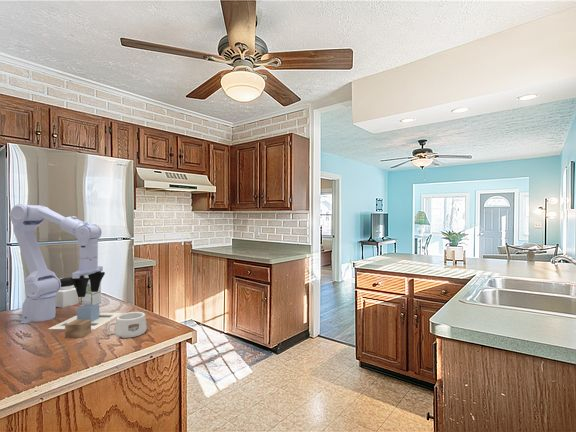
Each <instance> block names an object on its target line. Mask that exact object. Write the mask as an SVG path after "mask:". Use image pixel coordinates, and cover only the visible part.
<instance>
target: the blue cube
mask: <svg viewBox="0 0 576 432" xmlns="http://www.w3.org/2000/svg"><path fill="white" fill-rule="evenodd" d="M99 313H100V304H96V305H81V306H80V307H78V308H76V315H77V319H86V320H91V322H93V321H95V320H96V319H98V318H99Z"/></svg>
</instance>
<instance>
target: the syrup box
mask: <svg viewBox="0 0 576 432" xmlns="http://www.w3.org/2000/svg"><path fill="white" fill-rule="evenodd" d="M84 277H85V278H89V277H88V275H86V276H84ZM101 303H102V281H101V282H100V286H99V289H98V292H91V285H90V279H89V280H88V283H87V287H86V295H85V297H80V305H81V306H84V305H100V304H101Z"/></svg>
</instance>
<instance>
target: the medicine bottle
mask: <svg viewBox="0 0 576 432" xmlns="http://www.w3.org/2000/svg"><path fill="white" fill-rule="evenodd" d="M71 278H72V277H70V276H69V277H67V276H66V277H61V278H58V279H59V280H60V282H61V288H60V290H59V291H58V292H57V294H56V308H61V309H65V308H67V307H69V306H75V305H79V301H80V300H79V299H80V297H78V295H77V292H76V289H75V286H74V284H73V283H72V282H71Z"/></svg>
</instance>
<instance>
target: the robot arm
mask: <svg viewBox="0 0 576 432" xmlns="http://www.w3.org/2000/svg"><path fill="white" fill-rule="evenodd" d="M9 218H10V220H11V224H12V225H13V226H12V227H13V233H14V236H15V239H16V241H17V244H18V246H19V247H18V248H19V250H20V253H21V254H22V255H21V256H22V257H23V261H24V263H25V265H26V269H27V271H28V274H29V275H27V277H26V278H25V279H24V281H23V282H24V285H25V294H26V296H27V297H26V299H24V300H23V303H22V305H21V306H22V311H21V318H22V319H21V320H22V321H20V324H28V323H30V322H34V323H35V322H37V323H38V322H45V321H50V320H53V319H55V318H56V312H57V311H56V309H57V307H56V294H57V292H58V291H59V290H60V288H61V282H60V280H59V279H60V278H58V277H57V274H56V273H55V272H54V271H53V270H50V269H48V266H47V265H46V261H45V258H44V256H43V253H42V251H41V248H40V245H39V243H38V240H37V237H36V234H35V230H36V229H37V228H38V227H39V226H40V225H41V224H42V223H44V221H48V222H50V223H52V224H55V225H58V226H60V229H61V231H64V232H66V233H68V234H70V235H73V236H75V238H76V239H77V241H78V242H77V244H78V247H79V252H78V254H79V255H78V256H79V257H78V259H79V261H78V264H79V265H78V266H79V267H78V270H76V271H74V272H72V277H71V282H72V283H73V284H74V288H75V289H76V292H77V295H78V297H79V298H81V297H85V295H86V287H87V283H88V280H89V279H90V285H91V292H98V289H99V286H100V282H101V283H102V280H103V278H104V276H105V275H106V273H105V271H103V269H104V267H103V265H99V266H98V260H99V257H98V255H99V253H98V251H99V249H98V248H99V239H100V238H101V236H102V234H103V233H102V229H101V227H100V226H99V225H97V224H89V222H88V221H83V220H80V219H78V217H77V216H75V215H72V216H67V217H65V216H63V215H62V214H60V213H58V212H56V211H54V210H52V209H50V208H49V207H48V206H44V205H42V204H37V205H35V204H33V205H31V204H20V203H18V204H16V205H14V206H12V209H11V210H10V212H9ZM86 275H88V277H89V278H85V277H84V276H86Z"/></svg>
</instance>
